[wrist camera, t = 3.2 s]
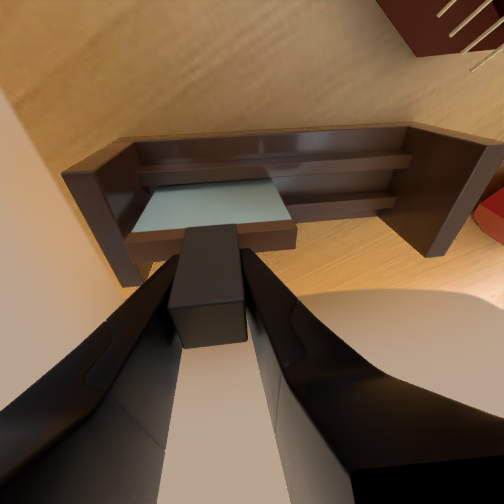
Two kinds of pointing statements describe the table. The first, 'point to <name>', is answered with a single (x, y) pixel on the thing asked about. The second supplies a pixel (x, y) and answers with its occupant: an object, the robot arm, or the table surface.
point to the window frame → (296, 179)
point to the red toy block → (492, 216)
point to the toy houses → (448, 25)
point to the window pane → (210, 250)
